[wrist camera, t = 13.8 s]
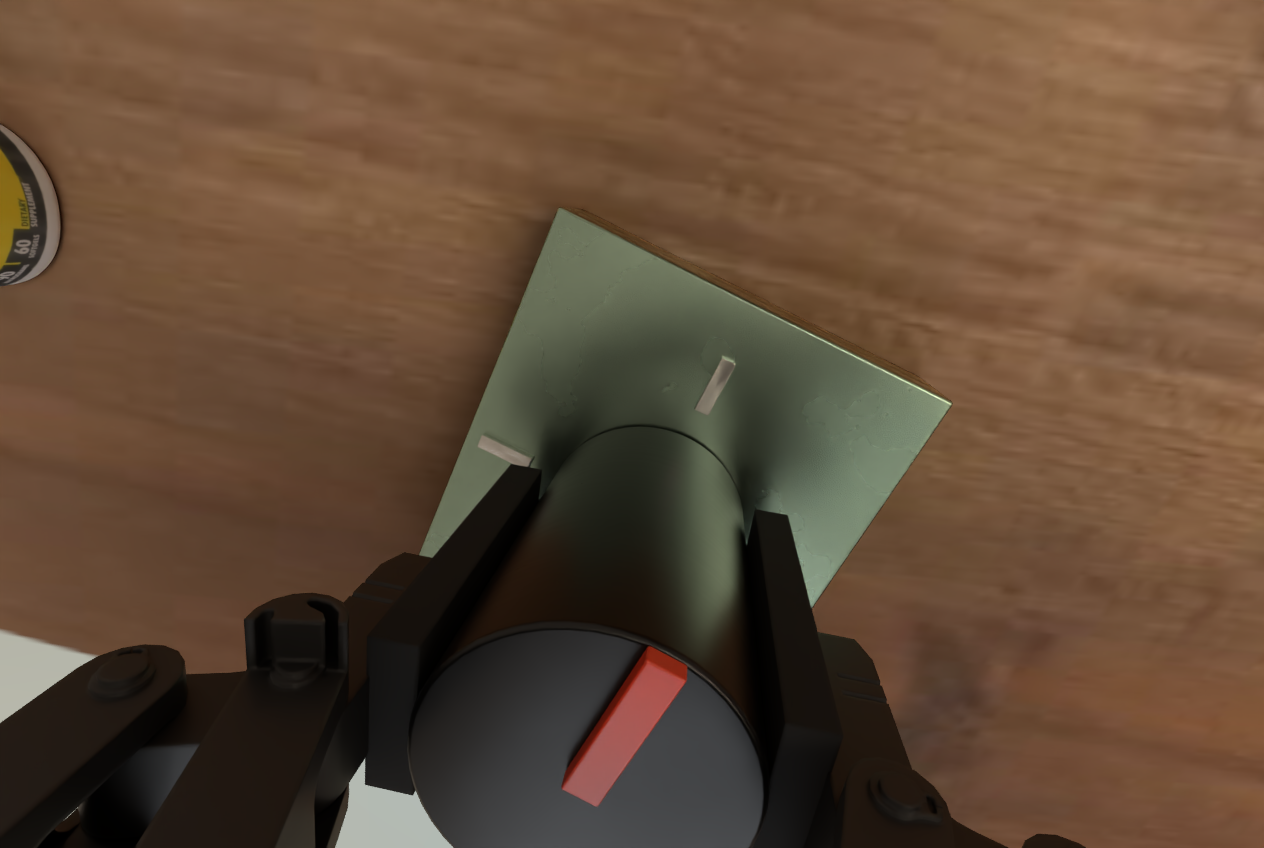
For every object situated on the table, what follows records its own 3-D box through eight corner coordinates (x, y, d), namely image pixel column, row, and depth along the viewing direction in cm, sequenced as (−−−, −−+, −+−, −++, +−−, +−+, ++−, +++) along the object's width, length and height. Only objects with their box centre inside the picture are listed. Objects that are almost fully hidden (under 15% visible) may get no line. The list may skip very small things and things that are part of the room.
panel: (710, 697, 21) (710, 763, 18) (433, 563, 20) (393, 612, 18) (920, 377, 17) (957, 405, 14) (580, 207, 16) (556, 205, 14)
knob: (681, 634, 17) (654, 989, 9) (517, 547, 17) (345, 832, 9) (781, 487, 15) (853, 765, 7) (600, 389, 15) (480, 568, 7)
